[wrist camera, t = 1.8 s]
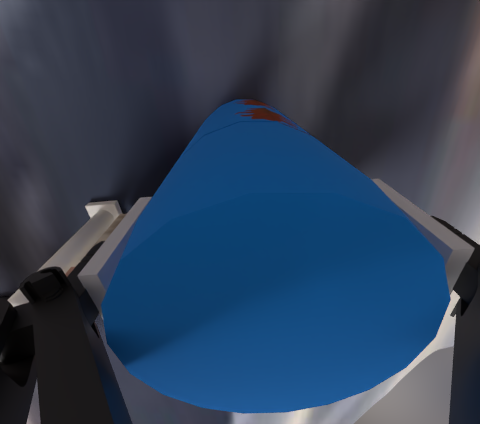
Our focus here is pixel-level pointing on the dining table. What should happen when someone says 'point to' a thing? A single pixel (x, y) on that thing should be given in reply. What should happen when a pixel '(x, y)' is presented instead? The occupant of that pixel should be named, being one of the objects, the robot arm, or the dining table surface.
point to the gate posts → (79, 241)
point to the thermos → (270, 274)
